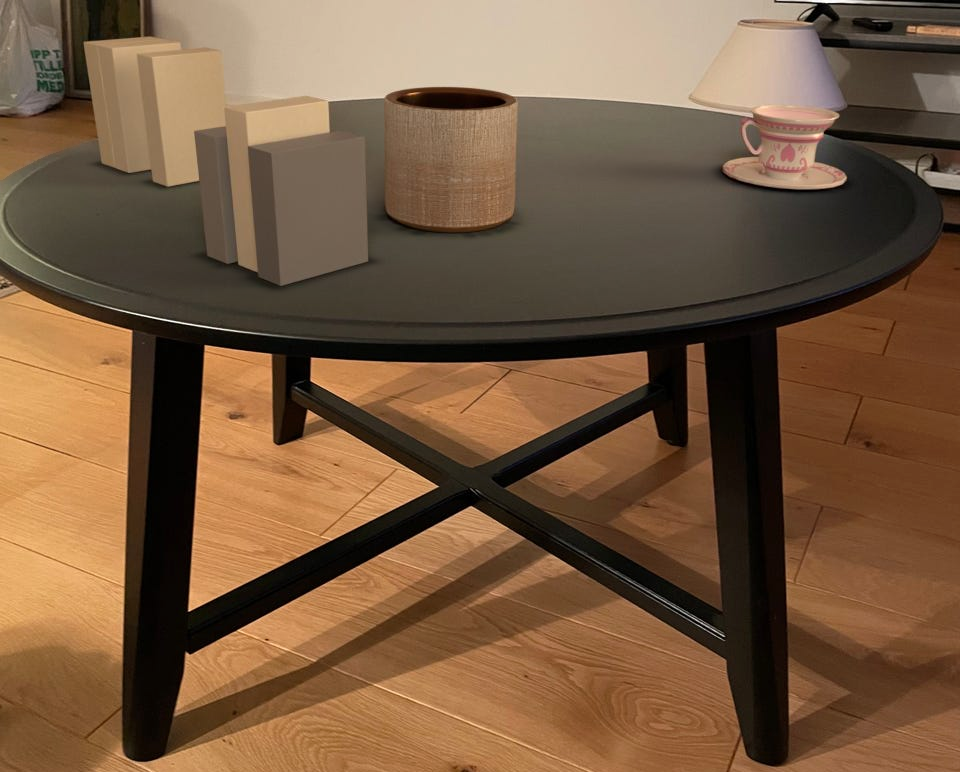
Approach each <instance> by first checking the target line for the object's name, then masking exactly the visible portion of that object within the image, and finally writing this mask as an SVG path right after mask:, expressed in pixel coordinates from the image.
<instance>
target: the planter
mask: <svg viewBox="0 0 960 772" xmlns="http://www.w3.org/2000/svg"><path fill="white" fill-rule="evenodd" d="M383 105H384V205H385V211H386V214H387V215H388V216H390V217H391V218H392V219H393V220H395V222H397V223H399V224H400V225H402V226H406V227H409V228H412V229H415V230H421V231H426V232H436V233H470V232H471V233H472V232H479V231H485V230H486V231H487V230H489V229H493V228H497V227H498V226H500V225H502V224H503V223H505V222H507V221H508V220H510V218H512V216H513V215H514V213H515V205H516V174H517V172H516V171H517V170H516V169H517V135H518V133H517V132H518V111H519V110H518V109H519V108H518V107H519V101H518V99H517V98H516V97H515V96H513V95H512V94H508V93H505V92H501V91H497V90H491V89H486V88H477V87H476V88H475V87H465V86H464V87H463V86H423V87H413V88H411V87H410V88H404V89H400V90H395V91H392V92H390V93H387V94H386V95H385V96H384V104H383Z"/></svg>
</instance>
